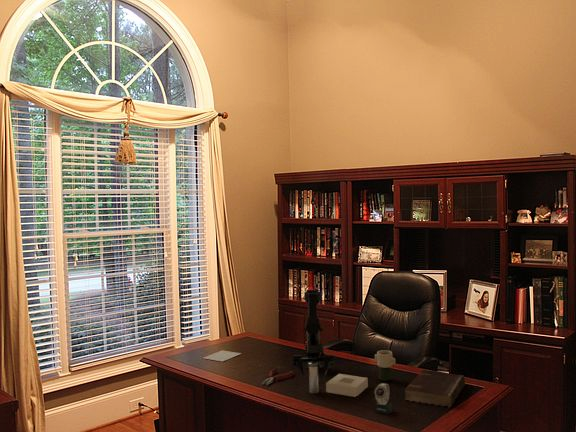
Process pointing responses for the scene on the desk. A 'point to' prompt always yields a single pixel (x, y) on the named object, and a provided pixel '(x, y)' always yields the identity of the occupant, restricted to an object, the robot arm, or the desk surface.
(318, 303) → the robot arm
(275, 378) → the pliers
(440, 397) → the hardback book
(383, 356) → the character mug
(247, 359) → the desk surface
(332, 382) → the block
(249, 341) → the desk surface
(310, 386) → the steel pin
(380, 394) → the watch
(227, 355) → the paper stack
